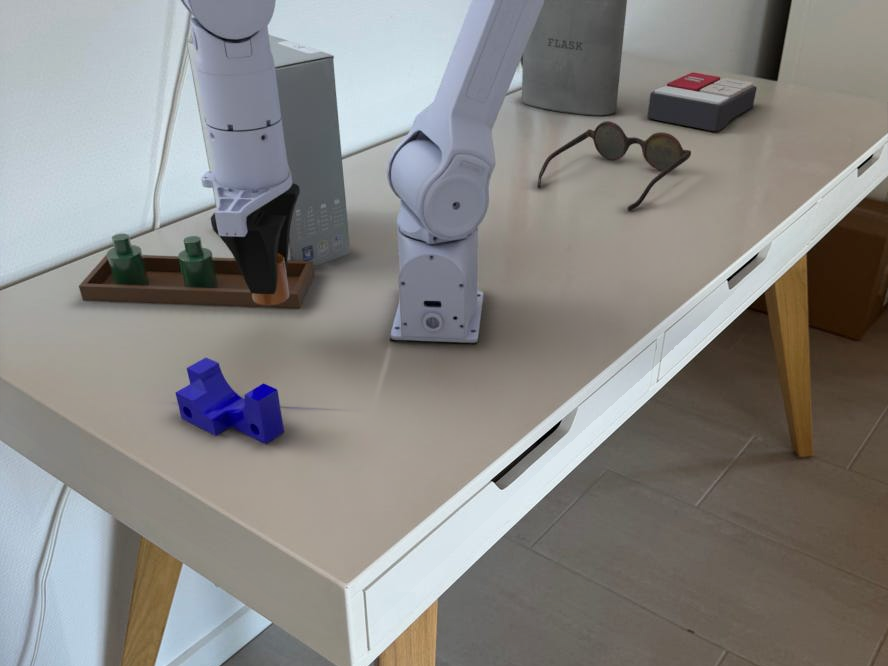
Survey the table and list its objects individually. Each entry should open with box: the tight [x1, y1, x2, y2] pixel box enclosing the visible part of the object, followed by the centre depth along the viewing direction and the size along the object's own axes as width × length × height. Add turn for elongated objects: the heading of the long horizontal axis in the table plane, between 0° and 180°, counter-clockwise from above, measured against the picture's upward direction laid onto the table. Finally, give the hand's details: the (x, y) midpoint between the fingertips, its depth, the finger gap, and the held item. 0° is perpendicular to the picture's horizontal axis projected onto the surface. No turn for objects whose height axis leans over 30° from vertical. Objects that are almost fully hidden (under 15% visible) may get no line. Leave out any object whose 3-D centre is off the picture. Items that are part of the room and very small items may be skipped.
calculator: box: [646, 72, 757, 132], centre depth 135 cm, size 11×4×15 cm
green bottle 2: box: [177, 235, 218, 288], centre depth 88 cm, size 3×3×5 cm
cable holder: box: [174, 357, 285, 445], centre depth 71 cm, size 8×4×4 cm, turn 55°
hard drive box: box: [185, 34, 351, 267], centre depth 93 cm, size 16×8×20 cm, turn 42°
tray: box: [78, 254, 315, 310], centre depth 90 cm, size 7×21×2 cm, turn 86°
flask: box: [521, 0, 628, 117], centre depth 131 cm, size 15×6×20 cm, turn 65°
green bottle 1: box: [106, 233, 149, 286], centre depth 89 cm, size 3×3×5 cm
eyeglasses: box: [537, 120, 692, 212], centre depth 112 cm, size 15×15×5 cm
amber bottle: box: [251, 253, 289, 305], centre depth 77 cm, size 3×3×5 cm
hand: (268, 281), depth 78 cm, fingers closed on amber bottle, 3 cm apart
